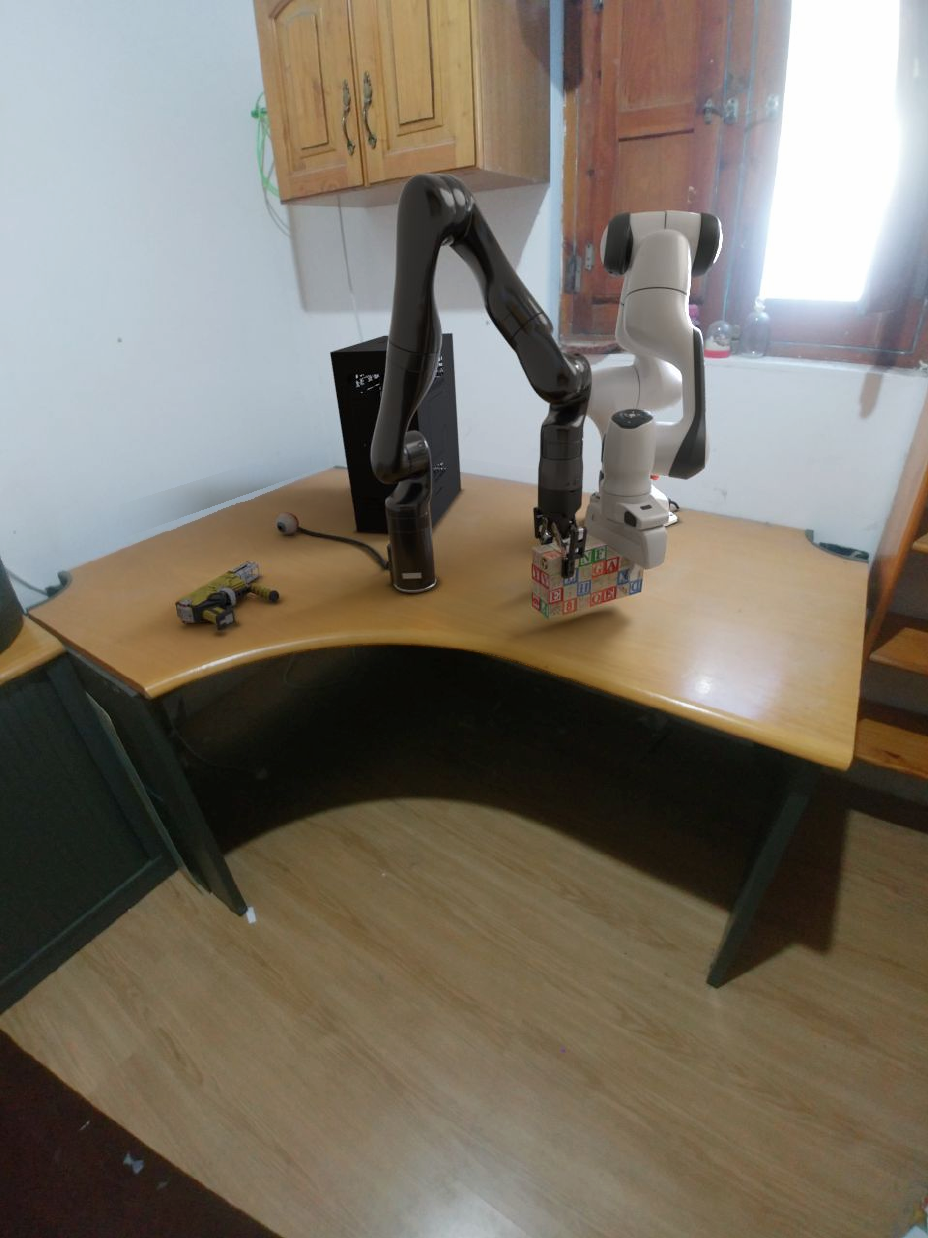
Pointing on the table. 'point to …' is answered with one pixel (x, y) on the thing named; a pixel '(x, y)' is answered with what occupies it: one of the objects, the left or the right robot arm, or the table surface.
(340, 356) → the cardboard box
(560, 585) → the stack of blocks
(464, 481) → the table surface
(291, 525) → the eyeball
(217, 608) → the toy gun
